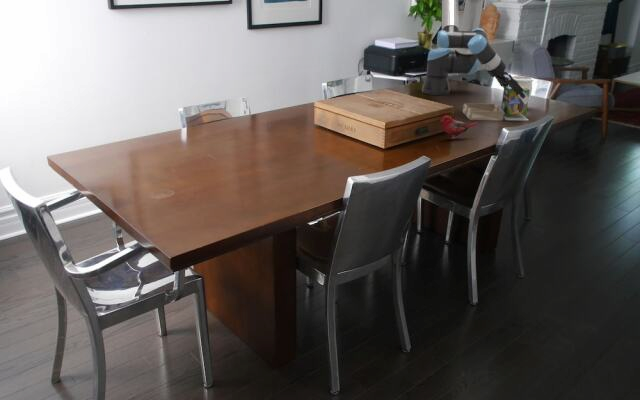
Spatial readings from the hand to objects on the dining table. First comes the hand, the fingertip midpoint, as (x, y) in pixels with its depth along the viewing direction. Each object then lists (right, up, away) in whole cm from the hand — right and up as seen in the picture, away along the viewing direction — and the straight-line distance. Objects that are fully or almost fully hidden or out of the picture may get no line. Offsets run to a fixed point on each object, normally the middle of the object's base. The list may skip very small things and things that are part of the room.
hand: (521, 99), depth 241 cm
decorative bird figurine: (-37, -22, -30) cm, 52 cm away
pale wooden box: (-17, -7, +3) cm, 19 cm away
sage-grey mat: (-3, -7, +3) cm, 8 cm away
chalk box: (-3, -6, +2) cm, 7 cm away
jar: (+4, -1, +17) cm, 18 cm away
